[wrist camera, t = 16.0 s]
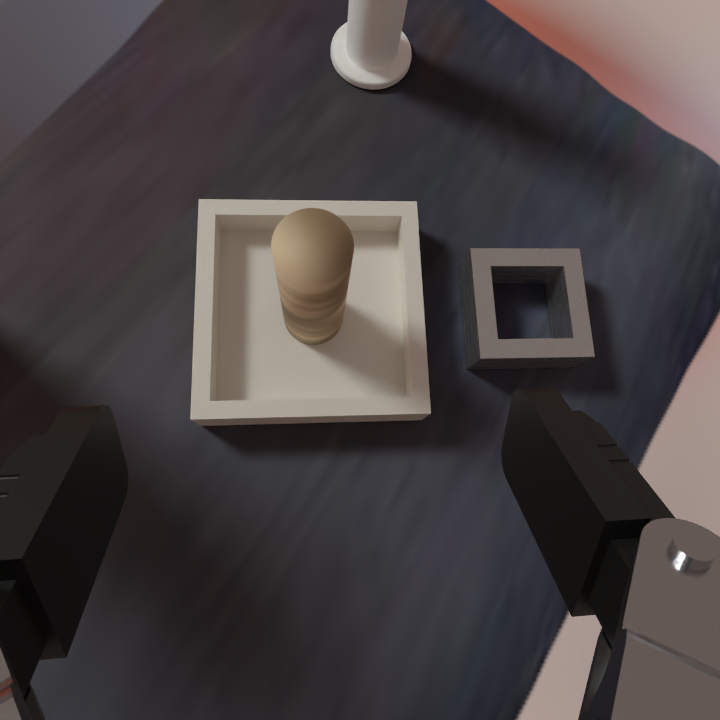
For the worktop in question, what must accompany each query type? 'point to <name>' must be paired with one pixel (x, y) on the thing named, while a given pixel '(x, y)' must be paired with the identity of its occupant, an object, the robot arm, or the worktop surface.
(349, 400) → the tray
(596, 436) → the robot arm
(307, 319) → the peg
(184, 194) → the worktop surface
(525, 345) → the collar
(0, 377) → the worktop surface
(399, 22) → the candle
